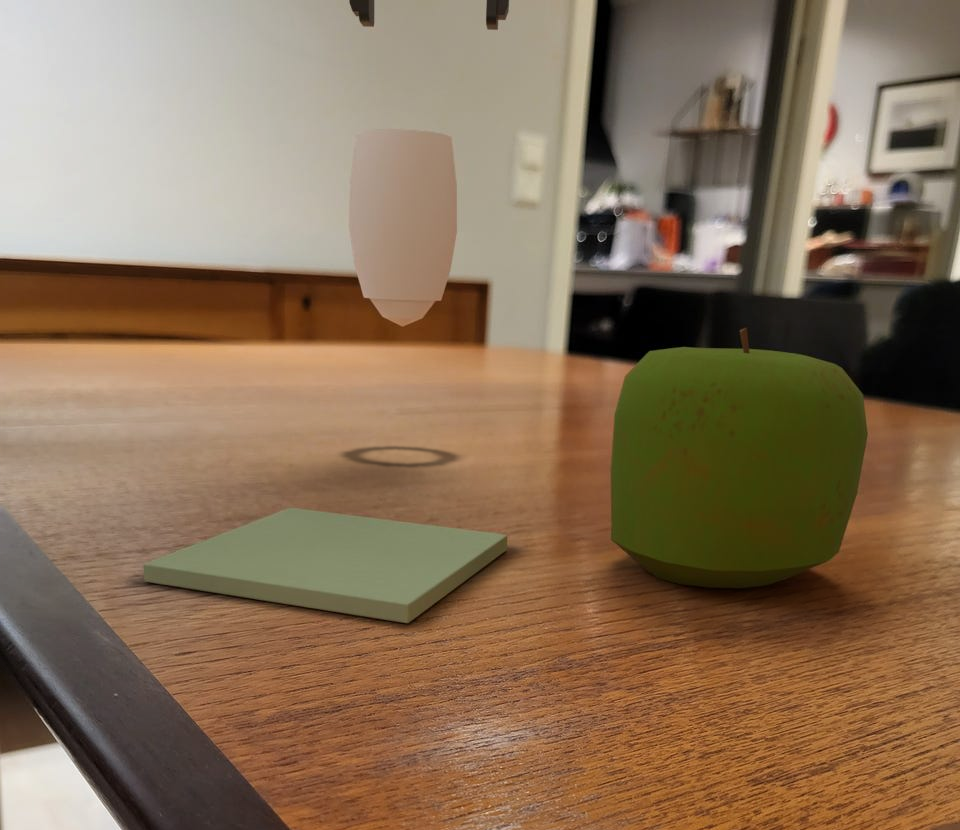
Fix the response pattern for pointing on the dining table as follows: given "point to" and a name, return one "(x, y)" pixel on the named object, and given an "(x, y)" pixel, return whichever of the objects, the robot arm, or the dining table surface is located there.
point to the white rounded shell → (403, 219)
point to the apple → (734, 464)
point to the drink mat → (333, 563)
